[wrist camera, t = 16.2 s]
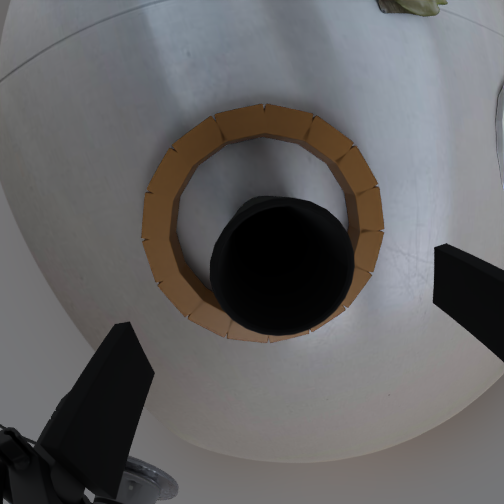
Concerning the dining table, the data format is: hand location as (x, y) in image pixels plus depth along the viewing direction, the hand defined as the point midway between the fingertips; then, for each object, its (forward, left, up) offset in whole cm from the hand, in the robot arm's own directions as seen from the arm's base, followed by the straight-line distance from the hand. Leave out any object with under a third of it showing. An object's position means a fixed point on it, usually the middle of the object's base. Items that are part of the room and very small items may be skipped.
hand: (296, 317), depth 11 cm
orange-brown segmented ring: (0, 0, -16) cm, 16 cm away
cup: (0, 0, -16) cm, 16 cm away
